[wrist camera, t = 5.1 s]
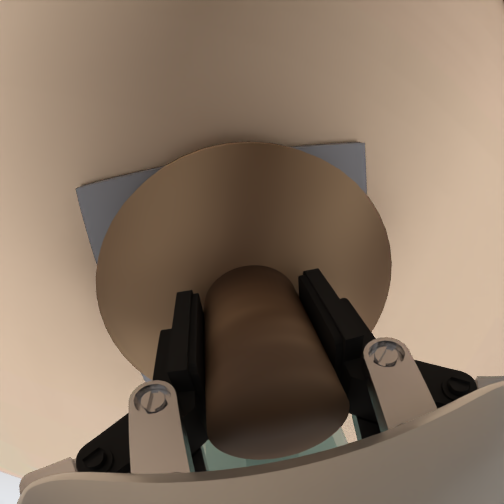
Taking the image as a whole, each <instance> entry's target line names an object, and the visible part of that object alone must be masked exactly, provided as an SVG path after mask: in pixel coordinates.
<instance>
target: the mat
mask: <svg viewBox="0 0 504 504" xmlns="http://www.w3.org/2000/svg"><path fill="white" fill-rule="evenodd" d="M291 148H294V149H298V150H301V151H303V152H306V153H308V154H311V155H313V156H316V157H318V158H321V159H323V160H325V161H326V162H328V163H330V164H331V165H333V166H335V167H336V168H338V169H340V170H341V171H342V172H344V173H345V174H346V175H347V176H348V177H350V178H351V179H352V180H353V181H354V182H356V183H357V184H358V186H359V187H360V188H361V189H362V190H363V191H364V192H365V194H366V195H367V185H366V158H365V143H361V142H350V143H333V144H319V145H307V146H296V147H291ZM163 167H164V166H162V167H158V168H153V169H148V170H144V171H139V172H135V173H130V174H126V175H122V176H118V177H114V178H110V179H106V180H102V181H98V182H94V183H90V184H87V185H83V186H80V187H78V188H76V192H77V197H78V201H79V205H80V209H81V213H82V216H83V220H84V224H85V227H86V231H87V234H88V238H89V241H90V244H91V248H92V251H93V254H94V257H95V260H96V263H97V262H98V257H99V253H100V249H101V246H102V242H103V239H104V237H105V235H106V233H107V231H108V228H109V226H110V224H111V222H112V220H113V219H114V217H115V216H116V214H117V213H118V211H119V210H120V208H121V207H122V205H123V204H124V203H125V202H126V201H127V199H128V198H129V197H130V196H131V195H132V194H133V193H134V192H135V191H136V190H137V189H138V188H139V187H140V186H141V185H142V184H143V183H144V182H145V181H146V180H147V179H148V178H150V177H151V176H152V175H154V174H155V173H156V172H157V171H159V170H160V169H161V168H163ZM141 374H142V373H141ZM142 376H143V378H144V380H145V382H148V381H152V380H151V379H149V378H148V377H146V376H145V375H144V374H142Z"/></svg>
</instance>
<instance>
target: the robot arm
mask: <svg viewBox="0 0 504 504" xmlns="http://www.w3.org/2000/svg"><path fill="white" fill-rule="evenodd" d="M298 284H299V298H300V300H301V302H302V304H303V306H304V308H305V310H306V312H307V314H308V316H309V318H310V320H311V322H312V324H313V327H314V329H315V331H316V333H317V335H318V337H319V339H320V341H321V343H322V345H323V347H324V349H325V351H326V353H327V356H328V358H329V360H330V362H331V364H332V366H333V368H334V370H335V372H336V374H337V377H338V379H339V381H340V383H341V385H342V387H343V389H344V391H345V394H346V396H347V398H348V400H349V404H350V409H349V413H350V414H352V419H353V423H354V427H355V431H356V435H357V440H358V441H355V442H352V443H349V444H346V445H342V446H339V447H335V448H332V449H328V450H325V451H321V452H317V453H313V454H309V455H305V456H301V457H296V458H292V459H287V460H282V461H277V462H272V463H266V464H261V465H254V466H248V467H241V468H233V469H225V470H215V471H209V468H208V465H207V461H206V457H205V453H204V448H203V446H202V445H203V444H204V443H205V442H206V441H207V440H209V439H208V436H207V424H206V401H205V366H204V312H203V308H202V304H201V300H200V296H199V293H195V294H193V291H192V290H188V291H182V292H177V294H176V301H175V308H174V315H173V322H172V329H164V330H161V331H160V335H159V341H158V347H157V353H156V360H155V366H154V373H153V380H152V381H148V382H145V383H143V384H141V385H139V386H138V387H137V388H136V389H135V390H134V391H133V392H132V394H131V395H130V398H129V413H128V414H126V415H125V416H124V417H122V418H121V419H120V420H119V421H117V422H116V423H115V424H113V425H112V426H111V427H109V428H108V429H106V430H105V431H104V432H102V433H101V434H100V435H98V436H97V437H96V438H94V439H93V440H92V441H90V442H89V443H87V444H86V445H85V446H84V447H83V448H82V449H80V451H79V453H78V454H77V458H76V459H72V458H71V457H69V458H66V459H64V460H62V461H59V462H57V463H54V464H51V465H49V466H46V467H44V468H41V469H38V470H35V471H33V472H30V473H28V474H26V475H25V476H24V477H23V478H22V480H21V482H20V486H19V487H20V498H19V500H18V502H17V504H504V376H477V378H476V380H474V379H473V378H472V377H471V376H470V375H468V374H467V373H464V372H461V371H458V370H453V369H449V368H445V367H441V366H437V365H433V364H429V363H425V362H421V361H417V360H414V359H413V357H412V355H411V353H410V351H409V349H408V348H407V347H406V345H405V344H404V343H402V342H401V341H399V340H397V339H394V338H388V337H384V338H377V339H376V338H375V337H374V336H373V334H372V333H371V331H370V330H369V328H368V327H367V325H366V324H365V323H364V321H363V320H362V318H361V317H360V316H359V314H358V313H357V311H356V310H355V308H354V307H353V306H352V304H351V303H350V301H349V300H348V299H347V298H341V299H340V298H339V297H338V295H337V294H336V293H335V291H334V290H333V288H332V287H331V285H330V284H329V282H328V281H327V280H326V278H325V277H324V275H323V274H322V272H321V271H320V270H319V269H318V268H317V269H311V270H306V271H303V275H300V276H298Z"/></svg>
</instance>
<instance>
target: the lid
mask: <svg viewBox="0 0 504 504" xmlns="http://www.w3.org/2000/svg"><path fill="white" fill-rule="evenodd" d="M391 264H392V262H391V252H390V244H389V240H388V236H387V232H386V229H385V227H384V224H383V222H382V220H381V217H380V215H379V213H378V211H377V210H376V208H375V206H374V205H373V203H372V202H371V200H370V198H369V197H368V196H367V195H366V194H365V192H364V191H363V190H362V189H361V188H360V187H359V186H358V184H357V183H356V182H354V181H353V180H352V179H351V178H350V177H348V176H347V175H346V174H345V173H344V172H342V171H341V170H340V169H338V168H336V167H335V166H333V165H331V164H330V163H328V162H326V161H325V160H323V159H321V158H318V157H316V156H313V155H311V154H308V153H306V152H303V151H301V150H298V149H294V148H291V147H286V146H282V145H278V144H273V143H263V142H235V143H225V144H220V145H216V146H211V147H207V148H203V149H200V150H198V151H195V152H192V153H190V154H187V155H185V156H182V157H180V158H179V159H177V160H175V161H173V162H171V163H170V164H168V165H166V166H164V167H163V168H161V169H160V170H159V171H157V172H156V173H155V174H154V175H152V176H151V177H150V178H148V179H147V180H146V181H145V182H144V183H143V184H142V185H141V186H140V187H139V188H138V189H137V190H136V191H135V192H134V193H133V194H132V195H131V196H130V197H129V198H128V199H127V201H126V202H125V203H124V204H123V205H122V207H121V208H120V210H119V211H118V213H117V214H116V216H115V217H114V219H113V220H112V222H111V224H110V226H109V228H108V231H107V233H106V235H105V237H104V239H103V242H102V246H101V249H100V253H99V257H98V262H97V271H96V293H97V300H98V305H99V309H100V313H101V316H102V319H103V322H104V324H105V327H106V329H107V331H108V333H109V335H110V337H111V338H112V340H113V342H114V343H115V345H116V346H117V348H118V349H119V350H120V352H121V353H122V354H123V356H124V357H125V358H126V359H127V360H128V361H129V362H130V363H131V364H132V365H133V366H134V367H135V368H136V369H137V370H139V371H140V372H141V373H142V374H144V375H145V376H146V377H148V378H149V379H151V380H153V373H154V366H155V360H156V353H157V347H158V341H159V335H160V331H161V330H164V329H172V322H173V315H174V308H175V301H176V294H177V292H182V291H188V290H192V291H193V294H195V293H199V296H200V300H201V304H202V308H203V312H204V366H205V401H206V424H207V436H208V439H209V441H210V442H211V444H212V445H213V446H214V447H216V448H217V449H218V450H220V451H222V452H223V453H226V454H228V455H231V456H234V457H238V458H243V459H253V460H265V459H276V458H282V457H286V456H291V455H294V454H297V453H300V452H303V451H306V450H308V449H310V448H312V447H315V446H316V445H318V444H320V443H322V442H323V441H325V440H326V439H328V438H329V437H331V436H332V435H333V434H334V433H335V432H336V431H337V430H338V429H339V428H340V427H341V426H342V425H343V423H344V422H345V420H346V418H347V416H348V413H349V409H350V404H349V400H348V398H347V396H346V394H345V391H344V389H343V387H342V385H341V383H340V381H339V379H338V377H337V374H336V372H335V370H334V368H333V366H332V364H331V362H330V360H329V358H328V356H327V353H326V351H325V349H324V347H323V345H322V343H321V341H320V339H319V337H318V335H317V333H316V331H315V329H314V327H313V324H312V322H311V320H310V318H309V316H308V314H307V312H306V310H305V308H304V306H303V304H302V302H301V300H300V298H299V284H298V276H300V275H303V271H306V270H311V269H317V268H318V269H319V270H320V271H321V272H322V274H323V275H324V277H325V278H326V280H327V281H328V282H329V284H330V285H331V287H332V288H333V290H334V291H335V293H336V294H337V295H338V297H339V298H340V299H341V298H347V299H348V300H349V301H350V303H351V304H352V306H353V307H354V308H355V310H356V311H357V313H358V314H359V316H360V317H361V318H362V320H363V321H364V323H365V324H366V325H367V327H368V328H369V330H370V331H371V332H372V330H373V329H374V327H375V325H376V324H377V322H378V319H379V317H380V315H381V313H382V311H383V308H384V305H385V302H386V299H387V296H388V291H389V286H390V281H391Z"/></svg>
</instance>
